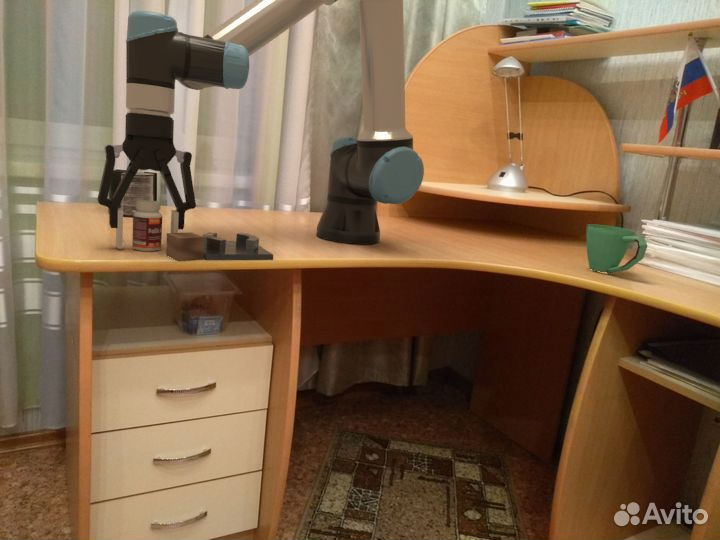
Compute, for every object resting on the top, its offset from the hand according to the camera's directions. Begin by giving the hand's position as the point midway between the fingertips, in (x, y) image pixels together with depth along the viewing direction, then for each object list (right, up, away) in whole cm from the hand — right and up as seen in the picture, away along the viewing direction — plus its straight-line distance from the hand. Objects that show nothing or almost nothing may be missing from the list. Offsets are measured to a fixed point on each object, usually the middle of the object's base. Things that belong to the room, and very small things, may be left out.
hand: (147, 246), depth 95 cm
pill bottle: (0, -1, 0) cm, 1 cm away
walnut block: (+8, -2, -3) cm, 9 cm away
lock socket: (+14, -1, +4) cm, 14 cm away
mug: (+93, -5, +25) cm, 96 cm away
